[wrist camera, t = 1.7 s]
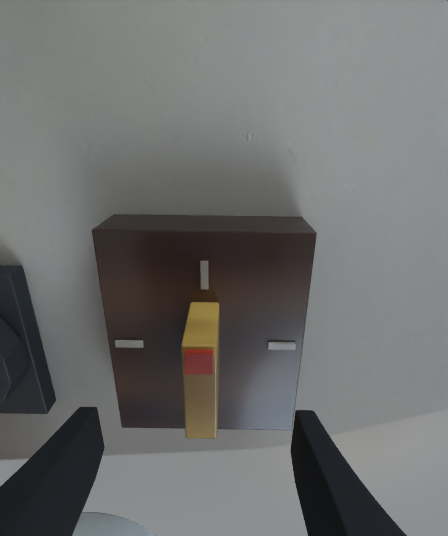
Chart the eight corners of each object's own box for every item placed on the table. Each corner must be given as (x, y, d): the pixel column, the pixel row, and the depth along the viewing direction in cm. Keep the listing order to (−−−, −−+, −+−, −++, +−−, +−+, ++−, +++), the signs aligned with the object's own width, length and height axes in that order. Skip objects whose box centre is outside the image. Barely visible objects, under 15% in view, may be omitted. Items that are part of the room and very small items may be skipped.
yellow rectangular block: (219, 382, 17) (216, 444, 14) (193, 382, 17) (184, 444, 14) (219, 301, 15) (217, 349, 12) (190, 301, 15) (179, 349, 12)
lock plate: (283, 392, 21) (292, 432, 19) (135, 390, 22) (120, 430, 19) (302, 216, 17) (318, 233, 14) (113, 214, 17) (89, 230, 14)
